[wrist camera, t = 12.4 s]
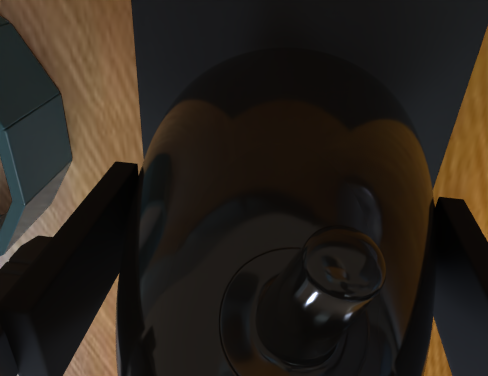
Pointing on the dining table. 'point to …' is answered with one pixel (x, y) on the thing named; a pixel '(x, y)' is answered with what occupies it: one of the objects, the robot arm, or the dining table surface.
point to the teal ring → (28, 136)
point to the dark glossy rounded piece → (280, 228)
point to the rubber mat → (318, 49)
